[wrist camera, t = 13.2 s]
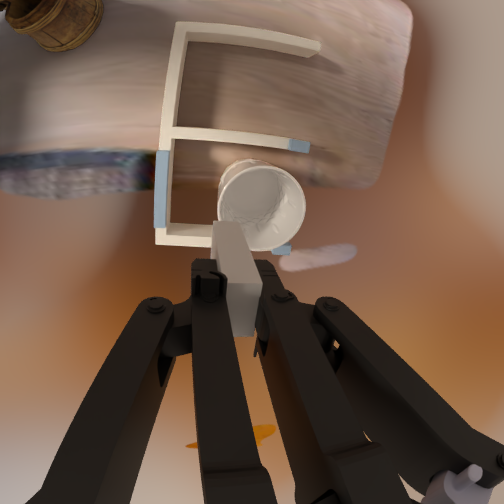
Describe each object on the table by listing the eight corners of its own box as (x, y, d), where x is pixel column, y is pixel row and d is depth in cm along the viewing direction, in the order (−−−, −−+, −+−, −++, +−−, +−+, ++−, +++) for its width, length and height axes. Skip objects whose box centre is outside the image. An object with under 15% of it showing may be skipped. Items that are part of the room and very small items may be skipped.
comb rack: (160, 231, 35) (154, 248, 30) (179, 32, 25) (175, 17, 20) (279, 238, 38) (290, 256, 33) (309, 49, 27) (325, 40, 23)
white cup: (206, 207, 34) (206, 240, 26) (225, 144, 32) (233, 153, 23) (267, 223, 37) (287, 259, 28) (288, 164, 34) (318, 182, 25)
